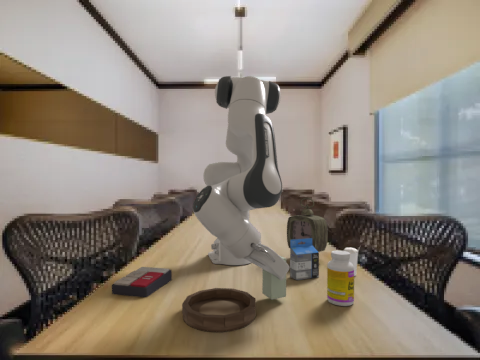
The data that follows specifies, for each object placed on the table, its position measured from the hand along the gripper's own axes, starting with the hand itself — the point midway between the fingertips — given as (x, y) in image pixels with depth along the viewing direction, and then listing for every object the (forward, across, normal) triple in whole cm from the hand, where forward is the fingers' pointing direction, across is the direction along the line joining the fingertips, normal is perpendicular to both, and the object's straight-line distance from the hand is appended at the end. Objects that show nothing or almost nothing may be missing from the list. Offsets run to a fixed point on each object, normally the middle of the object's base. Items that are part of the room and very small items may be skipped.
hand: (276, 274), depth 78 cm
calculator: (-16, +25, +27) cm, 40 cm away
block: (+3, 0, +4) cm, 5 cm away
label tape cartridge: (+18, +12, -8) cm, 23 cm away
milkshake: (+29, +7, -19) cm, 36 cm away
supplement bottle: (+15, -8, -5) cm, 18 cm away
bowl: (-7, -2, +16) cm, 18 cm away
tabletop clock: (+29, +29, -18) cm, 45 cm away
